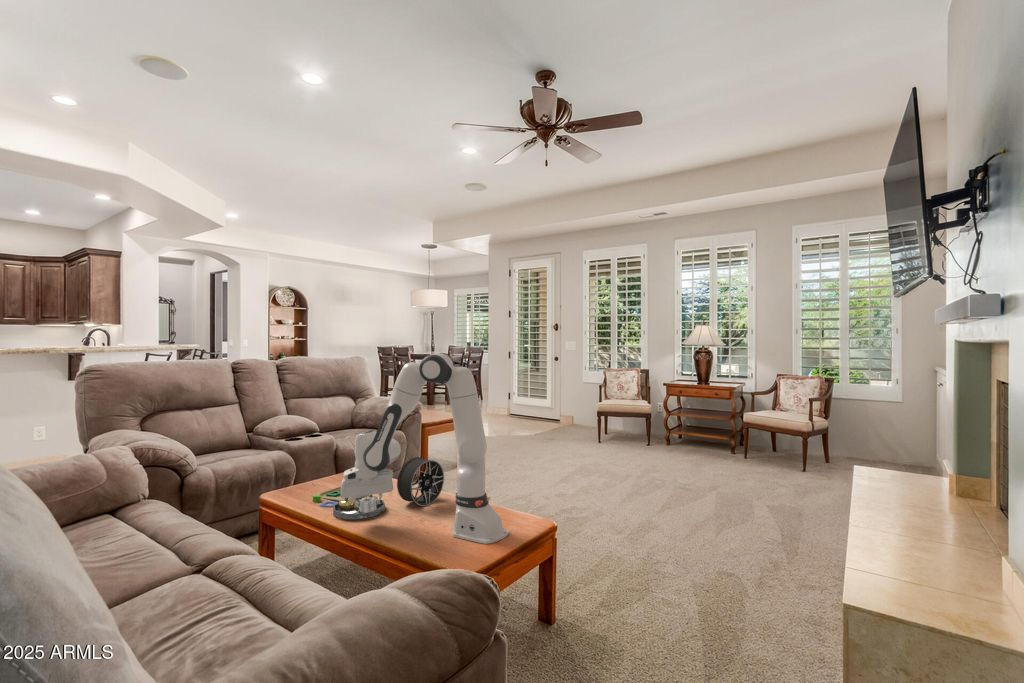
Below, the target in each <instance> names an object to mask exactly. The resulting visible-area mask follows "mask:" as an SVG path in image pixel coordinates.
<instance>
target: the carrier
mask: <svg viewBox="0 0 1024 683" xmlns="http://www.w3.org/2000/svg"><path fill="white" fill-rule="evenodd" d="M368 497H371V498H373V497H374V498H375V499H378V497H379V496H376V495H373V494H372V495H369V496H367V497H359V498H356V499H355V500H356V502H359V500H361V499H362V498H368ZM337 502H338V503H337V504H335V505H334V506H333V507H332V510H333V511H332V515H333V517H334V518H335V517H336V519H337V518H338V520H340V521H341V520H342V521H347V522H348V521H349V522H351V521H353V522H354V521H365V520H369V519H373V518H376V517H379V516H380V515H382V514H383V513H384V512H385V508H386V504H385V501H384V500H383V499H381V500H380V504H378V505H376V510H374V511H372V512H367V513H365V512H360V511H359V507H357V508H355V503H354V502H353V500H352V498H350V499H348V498H345V499H342V500H340V501H337Z"/></svg>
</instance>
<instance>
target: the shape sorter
mask: <svg viewBox="0 0 1024 683" xmlns="http://www.w3.org/2000/svg"><path fill="white" fill-rule="evenodd" d="M340 491H341V485H339V486H338V487H335V488H332V489H329V490H326V491H323V492H320V493H319V494H316V495H313V496H312V502H313V503H320V505H319V507H322V508H333V506H334V505H335V504H337V503H338V502H339V501H340V500H342V499H345V498H342V497H341V494H340ZM368 496H369V495H364V496H357V497H356V498H359V497H368ZM350 498H352V497H349V498H348V499H350ZM322 499H324V500H326V501H325V502H323V503H322ZM329 504H330V505H329Z"/></svg>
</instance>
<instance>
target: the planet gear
mask: <svg viewBox="0 0 1024 683" xmlns="http://www.w3.org/2000/svg"><path fill="white" fill-rule="evenodd" d="M367 497H368V496H367ZM374 510H376V499H375V498H374V497H373V498H371V497H368V498H362V499H361V500H359V511H360V512H365V513H367V512H372V511H374Z"/></svg>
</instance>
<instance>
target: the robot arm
mask: <svg viewBox="0 0 1024 683" xmlns="http://www.w3.org/2000/svg"><path fill="white" fill-rule="evenodd" d="M427 382H429V383H432V384H438V385H439V384H440V385H445V386H446V388H447V391H448V392H447V393H448V397H449V398H448V399H449V403H450V411H451V414H452V415H451V416H452V422H453V423H452V424H453V429H454V436H455V442H456V447H457V448H456V451H457V453H456V454H457V455H456V456H457V459H456V460H457V461H456V467H457V468H456V469H457V470H456V493H455V506H456V507H455V513H454V521H453V525H452V529H451V531H452V537H454V538H457V539H463V540H465V541H466V540H467V541H470V542H475V543H480V544H485V545H488V544H493V543H496V542H499V541H500V540H503V539H504V538H506V537H507V536H508V535H509V530H508V529H506V528H504V527H503V519H502V518H501V516H500V514H499V513H498V512H497V511H496V510H495V509H494V508H493V507H492V506H491V505H490V502H489V501H491V496H489V497H488V496H487V495H488V494H487V493H486V492H487V491H486V452H487V446H488V445H487V441H486V434H485V428H484V423H483V418H482V412H481V407H480V401H479V394H478V390H477V385H476V384H477V383H476V381H475V378H474V375H473V372H472V370H471V369H470V368H468V367H465V366H455V362H454V359H453V357H452V356H450V355H449V354H448V353H445V352H435V353H431V354H428V355H426V356H425V357H423V359H422V360H421V361H420V363H417V362H412V361H411V362H407V363H405V364H404V365H403V366H402V368H401V370H400V372H399V373H398V376H397V377H396V380H395V383H394V386H393V388H392V392H391V395H390V398H389V401H388V403H387V405H386V409H385V412H384V414H383V416H382V418H381V420H380V423H379V425H378V428H377V430H375V429H368V430H364V431H360V432H358V433H357V434H356V436H355V439H354V456H355V461H354V467H351V468H349V469H346V470H344V472H343V478H342V479H341V482H340V486H341V491H340V494H341V497H342V498H349V497H352V500H353V502H354V503H355V508H357V507H359V502H356V500H355V499H356V497H357V496H364V495H372V496H373V495H378V496H377V497H378V499H376V505H378V504H380V500H382V498H383V495H384V494H385V493H386V494H387V493H392V491H393V490H394V483H393V478H394V471H393V470H392V469H390V468H386V467H388V466H389V465H390V464H392V463H393V462H395V461H397V459H398V458H400V457H401V454H402V447H401V446H402V445H401V444H400V442H399V441H398V440H397V439H395V438H394V435H395V432H396V431H397V428H398V426H399V425H400V423H401V422H402V421H403V420H404V419H405V418H406V417H407V416H408V415H410V414H411V413H412V412H413V411H414V410H415V409H416V407H417V405H418V404H419V402H420V399H421V397H422V396H421V395H422V394H423V390H424V387H425V386H426V384H427Z"/></svg>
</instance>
